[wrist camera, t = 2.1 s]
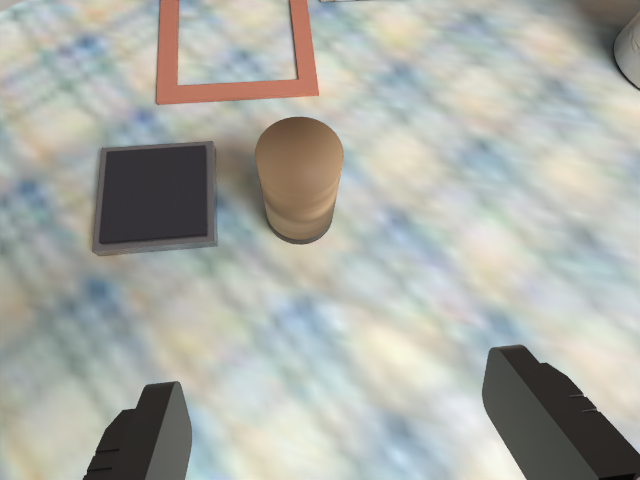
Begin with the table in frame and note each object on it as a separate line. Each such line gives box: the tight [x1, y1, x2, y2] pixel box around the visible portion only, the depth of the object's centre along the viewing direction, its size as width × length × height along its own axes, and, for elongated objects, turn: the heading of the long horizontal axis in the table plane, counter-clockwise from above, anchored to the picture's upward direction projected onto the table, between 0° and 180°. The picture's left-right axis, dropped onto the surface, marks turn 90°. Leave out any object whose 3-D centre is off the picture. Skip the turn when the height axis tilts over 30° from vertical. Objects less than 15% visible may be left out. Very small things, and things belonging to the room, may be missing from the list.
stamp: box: [255, 117, 344, 244], centre depth 25 cm, size 5×5×8 cm
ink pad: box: [92, 141, 217, 256], centre depth 28 cm, size 8×8×1 cm
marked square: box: [156, 0, 319, 105], centre depth 34 cm, size 13×13×1 cm
